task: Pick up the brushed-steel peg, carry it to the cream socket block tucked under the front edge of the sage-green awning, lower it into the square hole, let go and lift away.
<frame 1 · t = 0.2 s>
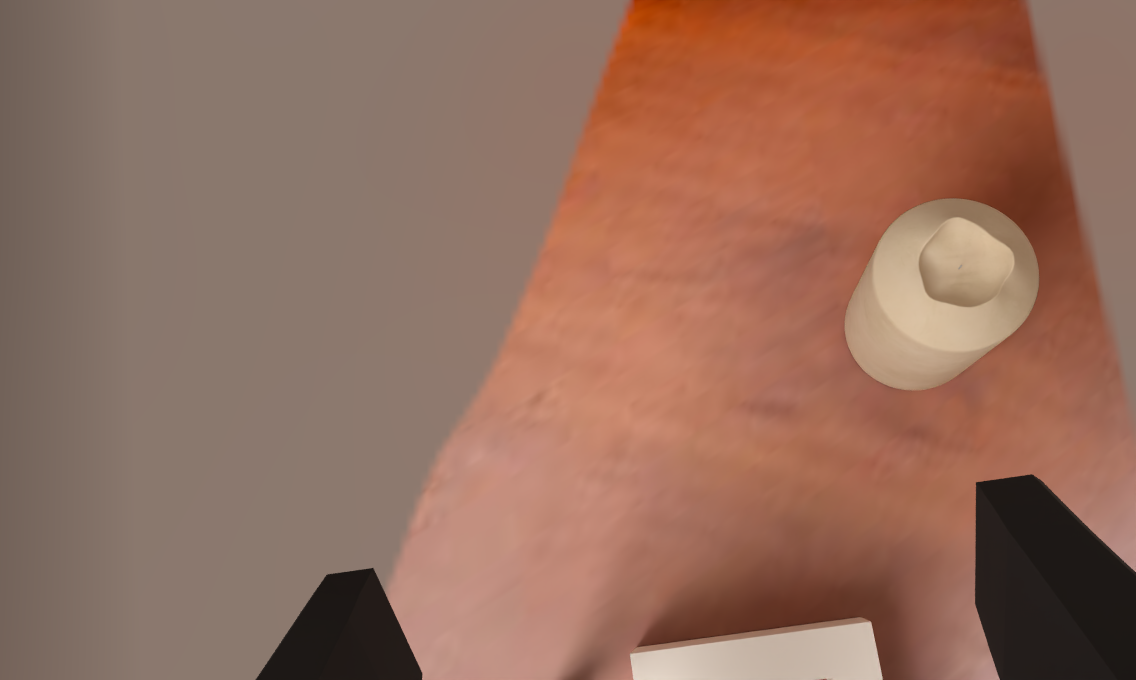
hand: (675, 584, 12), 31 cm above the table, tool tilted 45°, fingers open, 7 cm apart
candle: (908, 329, 43), on the table
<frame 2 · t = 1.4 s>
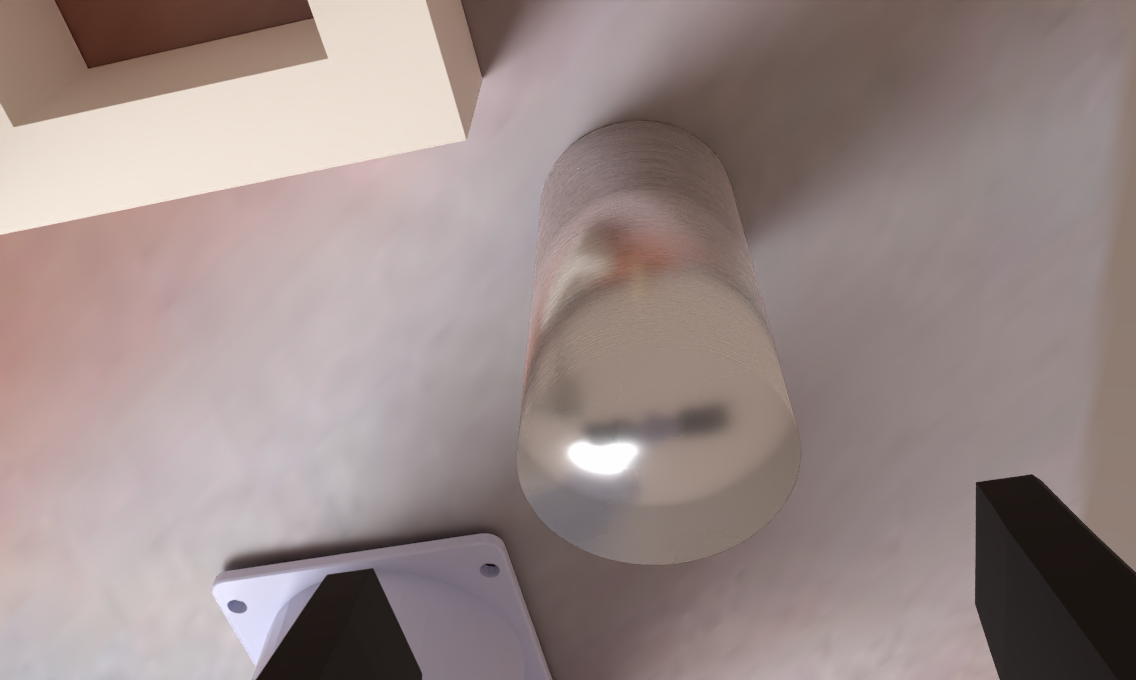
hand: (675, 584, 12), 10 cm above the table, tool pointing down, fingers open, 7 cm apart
peg: (636, 212, 21), on the table
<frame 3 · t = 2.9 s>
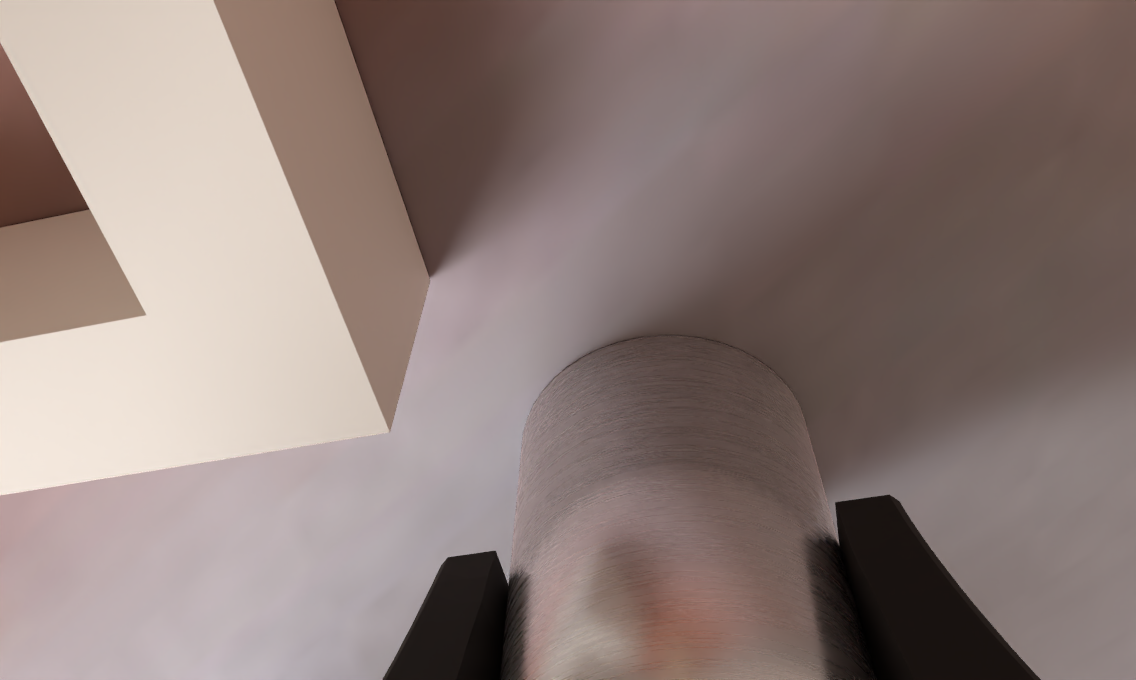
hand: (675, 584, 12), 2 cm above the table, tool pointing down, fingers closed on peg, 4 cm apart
peg: (663, 453, 14), on the table, touching gripper
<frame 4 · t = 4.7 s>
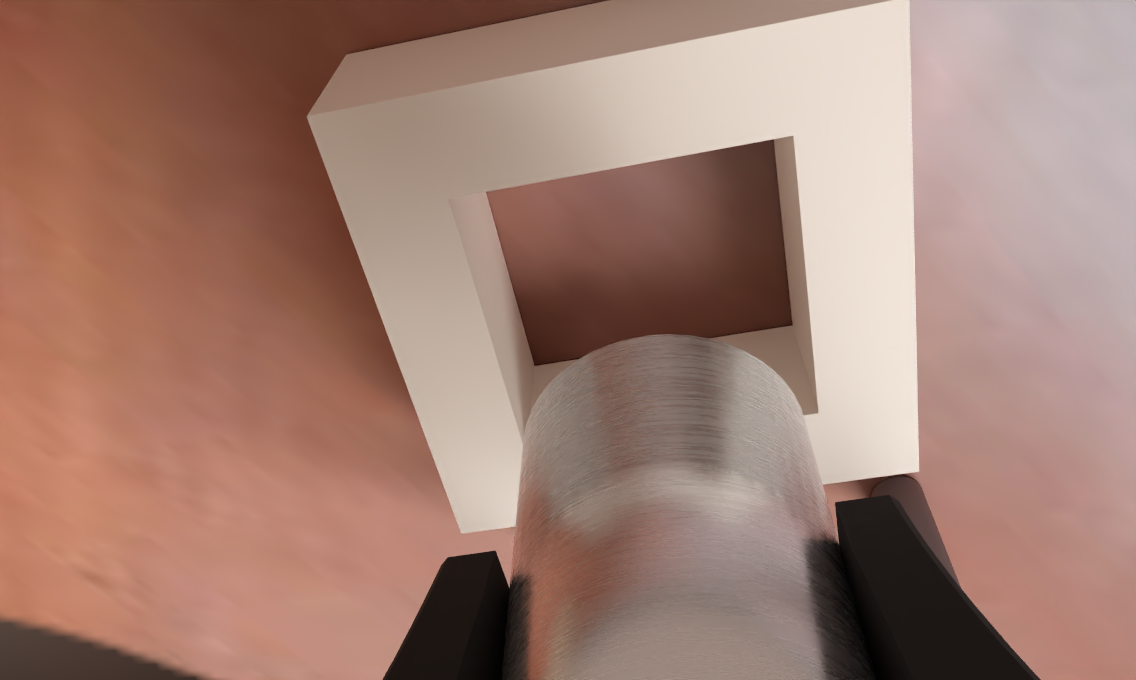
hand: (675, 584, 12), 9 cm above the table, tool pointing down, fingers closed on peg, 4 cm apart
socket block: (639, 232, 20), on the table
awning: (728, 467, 23), on the table
peg: (664, 451, 14), point 7 cm above the table, touching gripper
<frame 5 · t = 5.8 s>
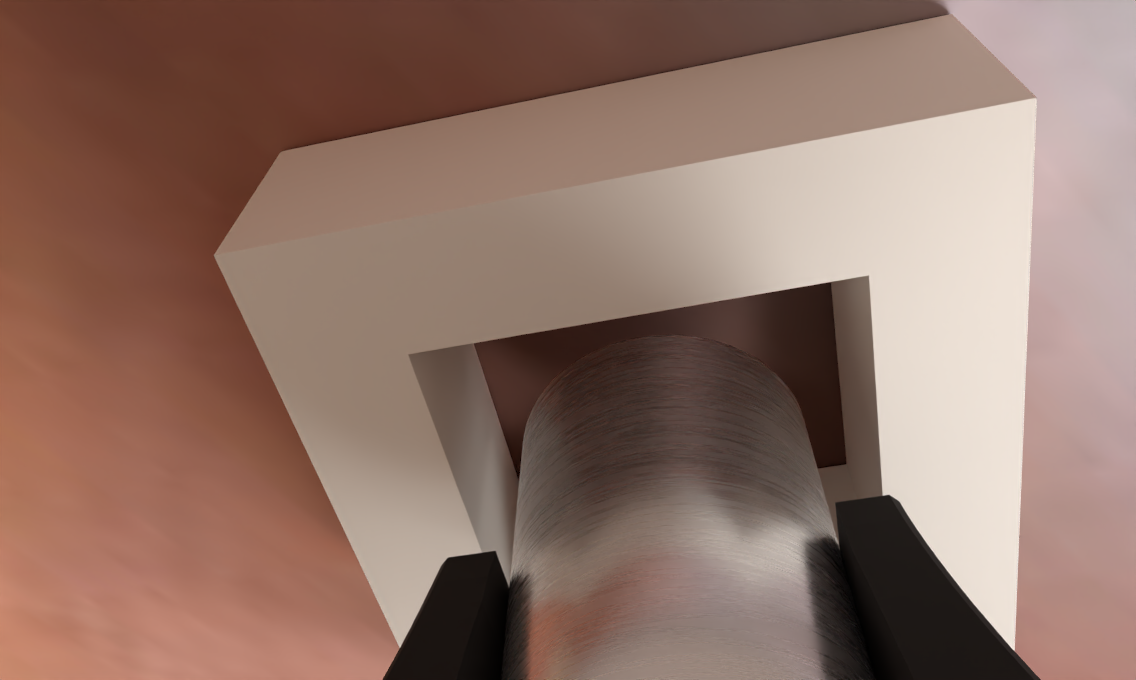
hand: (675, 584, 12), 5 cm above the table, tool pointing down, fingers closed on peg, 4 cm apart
socket block: (657, 359, 16), on the table
peg: (663, 452, 14), point 2 cm above the table, touching gripper
when the fingers open (4 cm above the table, at t = 6.5 s): peg drops 1 cm, resting in socket block.
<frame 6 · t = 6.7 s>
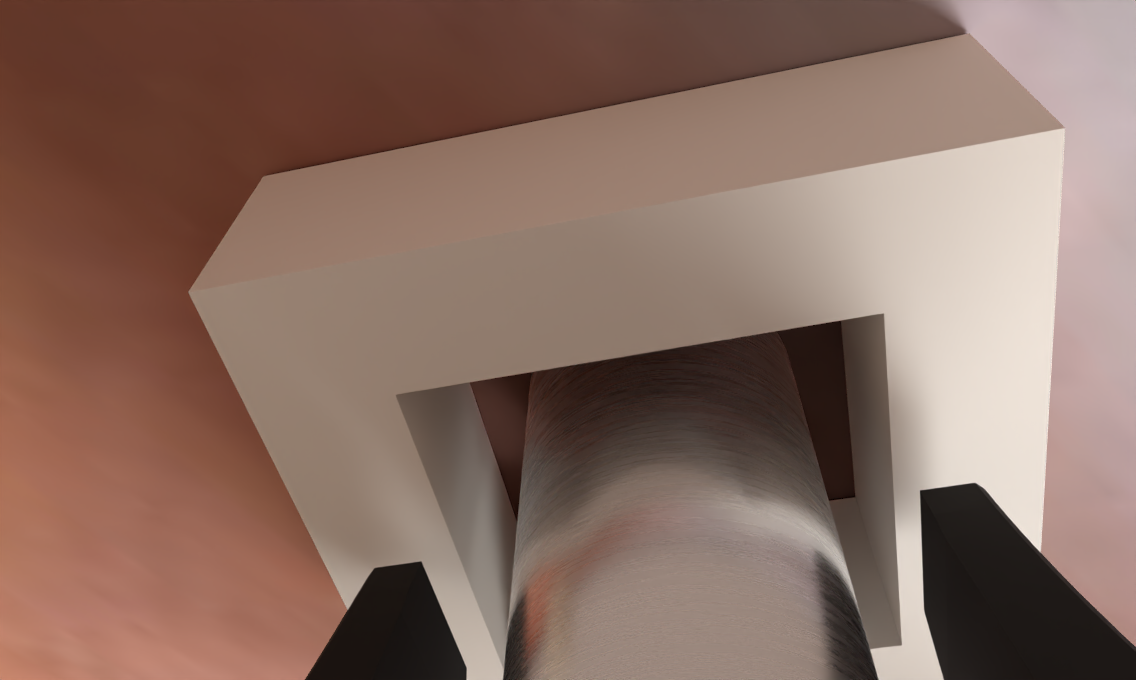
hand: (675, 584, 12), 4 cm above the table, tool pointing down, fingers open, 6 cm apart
socket block: (658, 390, 15), on the table
peg: (660, 391, 15), resting in socket block
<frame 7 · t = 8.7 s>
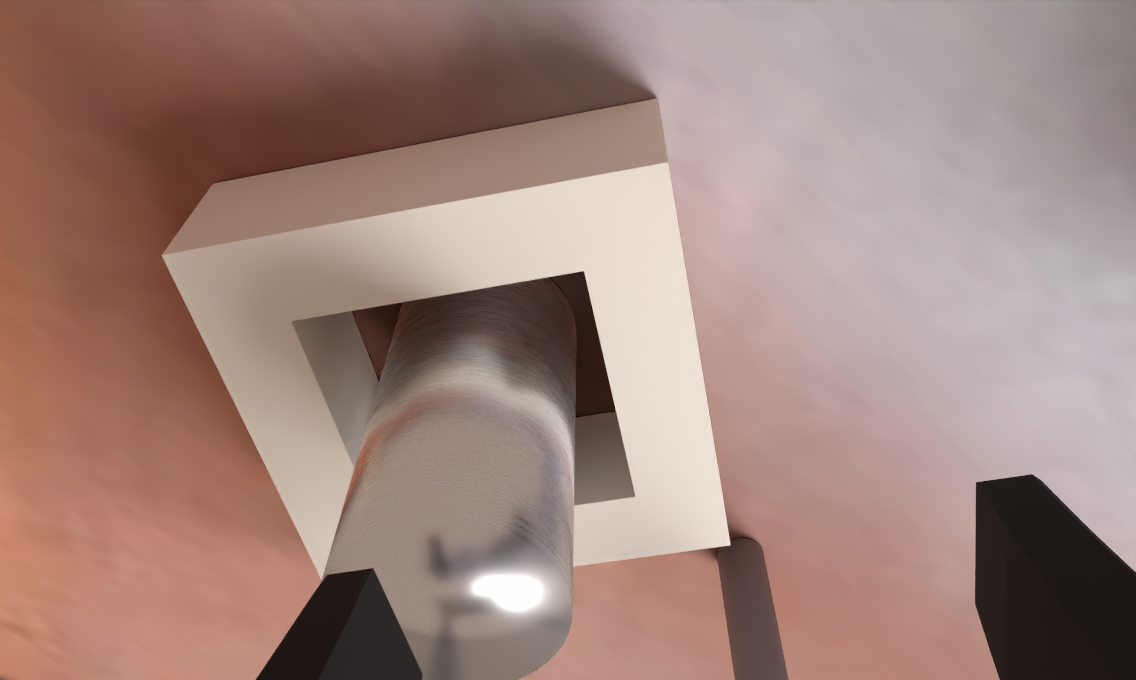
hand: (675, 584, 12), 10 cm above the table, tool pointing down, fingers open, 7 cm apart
socket block: (486, 331, 22), on the table
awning: (586, 530, 26), on the table
peg: (487, 332, 23), resting in socket block
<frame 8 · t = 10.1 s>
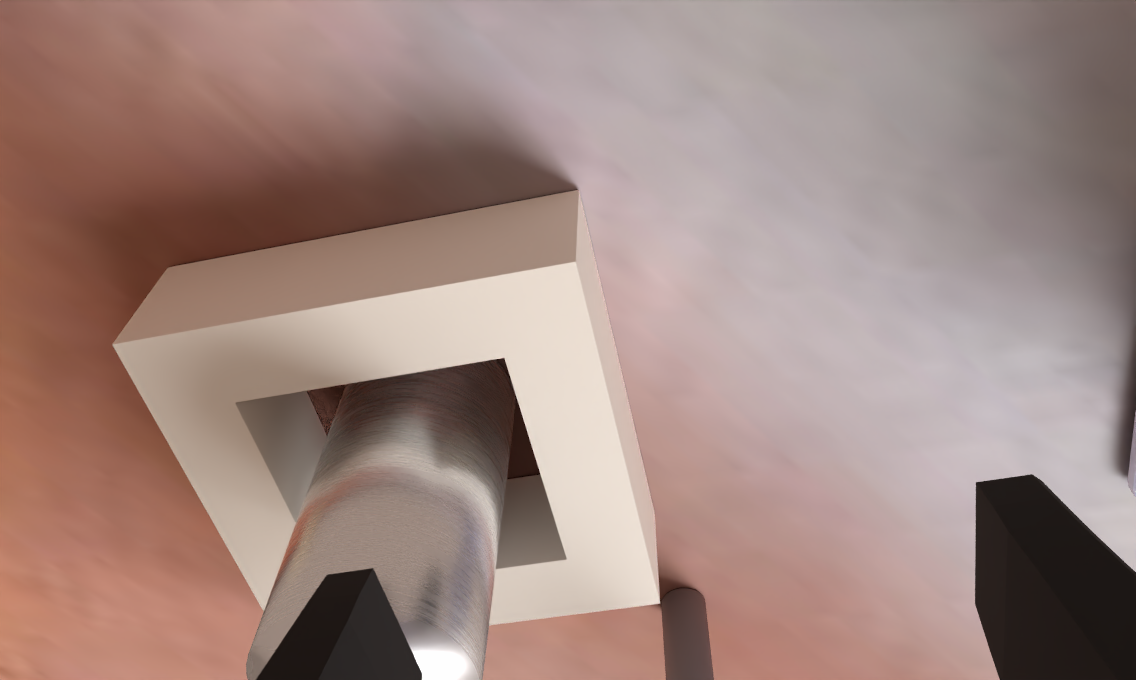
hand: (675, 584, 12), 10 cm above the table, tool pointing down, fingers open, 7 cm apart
socket block: (429, 399, 24), on the table
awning: (534, 581, 27), on the table
peg: (431, 400, 24), resting in socket block
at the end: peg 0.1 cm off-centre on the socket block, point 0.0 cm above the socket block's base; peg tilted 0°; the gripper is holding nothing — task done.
